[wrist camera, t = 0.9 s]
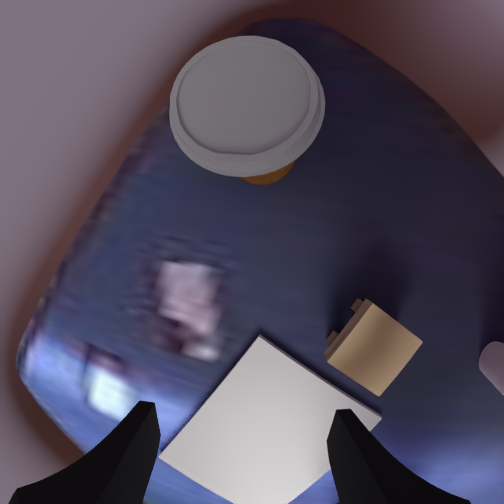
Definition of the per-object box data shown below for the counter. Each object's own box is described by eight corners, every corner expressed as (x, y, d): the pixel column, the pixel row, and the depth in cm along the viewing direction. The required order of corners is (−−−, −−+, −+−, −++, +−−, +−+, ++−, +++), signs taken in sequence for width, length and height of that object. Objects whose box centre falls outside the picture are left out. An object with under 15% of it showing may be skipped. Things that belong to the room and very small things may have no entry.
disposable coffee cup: (297, 95, 28) (297, 17, 16) (326, 188, 28) (349, 147, 16) (201, 121, 29) (153, 57, 17) (223, 214, 29) (177, 193, 17)
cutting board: (380, 414, 27) (382, 418, 26) (266, 514, 29) (265, 519, 28) (259, 334, 29) (258, 336, 28) (160, 453, 30) (158, 456, 29)
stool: (400, 325, 27) (423, 341, 21) (364, 370, 28) (379, 396, 22) (357, 292, 28) (372, 303, 22) (320, 340, 28) (327, 361, 22)
